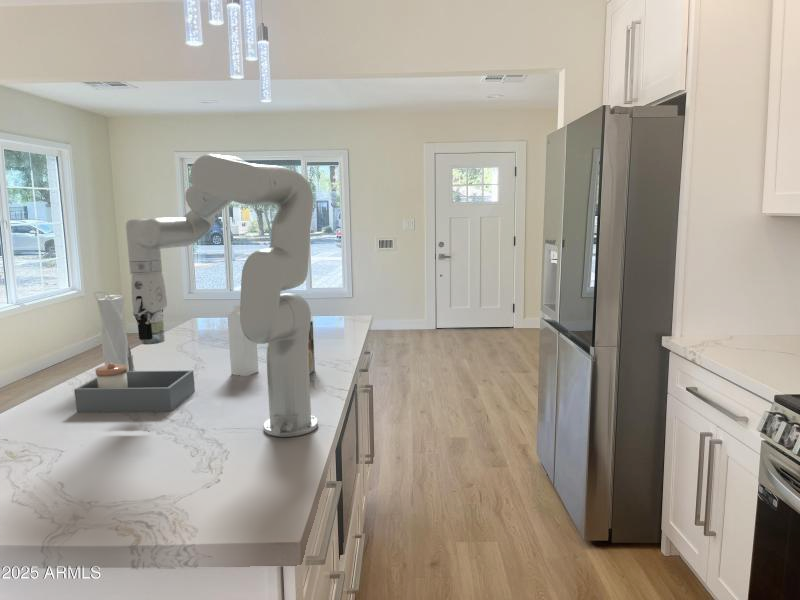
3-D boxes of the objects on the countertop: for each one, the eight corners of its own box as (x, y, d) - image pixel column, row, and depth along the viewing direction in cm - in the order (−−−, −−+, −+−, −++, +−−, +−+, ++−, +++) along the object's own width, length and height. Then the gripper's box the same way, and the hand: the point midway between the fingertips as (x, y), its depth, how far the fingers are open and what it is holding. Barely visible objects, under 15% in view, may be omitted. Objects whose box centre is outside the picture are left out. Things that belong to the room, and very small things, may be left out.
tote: (171, 415, 144) (169, 388, 142) (77, 416, 144) (74, 389, 143) (195, 394, 159) (193, 370, 158) (110, 395, 160) (107, 371, 159)
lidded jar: (121, 406, 148) (117, 366, 146) (93, 406, 148) (89, 367, 146) (135, 396, 155) (131, 359, 154) (108, 397, 155) (104, 359, 154)
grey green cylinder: (158, 344, 146) (156, 313, 145) (135, 344, 146) (132, 314, 145) (168, 339, 152) (166, 309, 151) (146, 339, 152) (143, 309, 151)
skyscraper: (105, 387, 167) (95, 293, 163) (101, 381, 174) (92, 290, 169) (136, 382, 172) (127, 290, 167) (132, 376, 178) (123, 287, 174)
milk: (231, 374, 179) (225, 305, 175) (244, 369, 184) (239, 302, 180) (246, 376, 176) (241, 306, 172) (259, 371, 181) (254, 303, 178)
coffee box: (296, 369, 183) (294, 320, 180) (315, 370, 181) (313, 320, 179) (285, 378, 174) (282, 326, 171) (305, 378, 173) (302, 326, 170)
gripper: (145, 271, 137) (151, 344, 140) (174, 264, 154) (179, 329, 157) (114, 271, 137) (121, 344, 140) (146, 264, 154) (152, 329, 157)
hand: (151, 335), depth 149 cm, fingers closed on grey green cylinder, 6 cm apart
